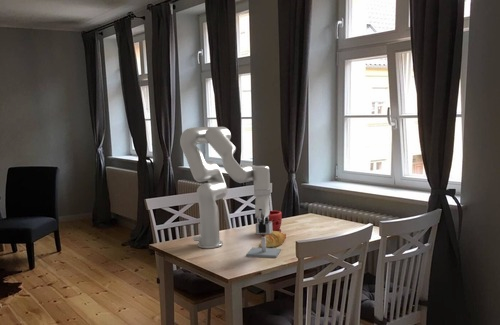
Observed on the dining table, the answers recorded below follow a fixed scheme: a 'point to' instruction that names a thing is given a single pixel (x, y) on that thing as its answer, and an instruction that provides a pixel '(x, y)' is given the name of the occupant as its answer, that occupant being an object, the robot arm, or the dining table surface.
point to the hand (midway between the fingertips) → (264, 230)
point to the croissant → (274, 239)
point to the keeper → (263, 250)
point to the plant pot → (275, 220)
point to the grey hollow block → (268, 227)
